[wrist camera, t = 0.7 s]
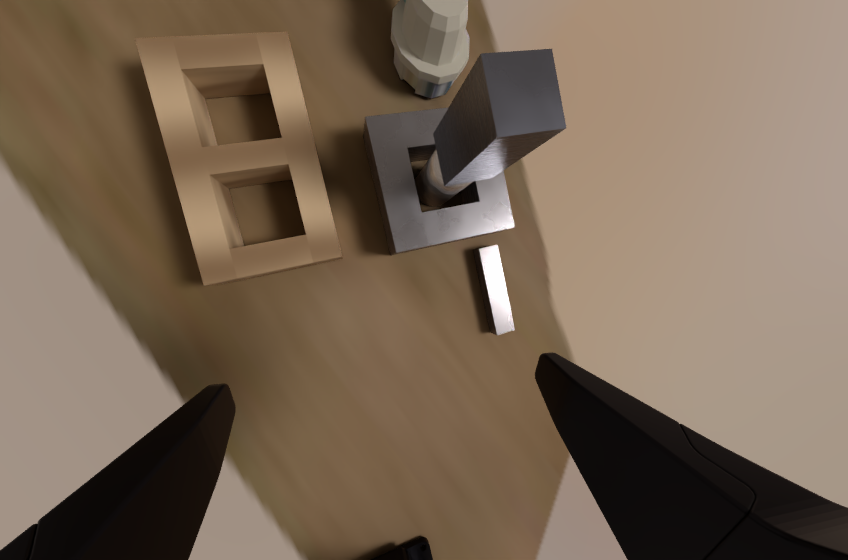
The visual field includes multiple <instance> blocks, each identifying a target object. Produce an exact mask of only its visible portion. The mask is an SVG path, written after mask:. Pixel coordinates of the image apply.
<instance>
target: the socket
mask: <svg viewBox="0 0 848 560" xmlns="http://www.w3.org/2000/svg"><path fill="white" fill-rule="evenodd" d="M447 110H448V108H441V109H432V110H423V111H413V112H404V113H395V114H386V115H377V116H368V117H365V124H364V134H363V138H364V143H365V147H366V151H367V156H368V160H369V164H370V169H371V173H372V177H373V182H374V186H375V190H376V194H377V199H378V203H379V207H380V212H381V216H382V220H383V225H384V229H385V233H386V238H387V242H388V246H389V251H390V255H395V254H399V253H404V252H409V251H413V250H418V249H422V248H427V247H432V246H436V245H441V244H445V243H450V242H455V241H459V240H464V239H468V238H473V237H478V236H482V235H487V234H491V233H496V232H499V231H503V230H507V229H510V228H514V222H513V217H512V212H511V207H510V202H509V197H508V192H507V186H506V181H505V176H504V171H502V172H500V173H499V174H497V175H496V176H494V177H493V178H491V179H486V180H480V181H474V182H472V183H471V184H469V185H468V186H467V187H465V188H464V189H463V190H461V196H462V200H463V205H459V206H454V207H449V208H444V209H438V210H433V211H428V212H422V213H421V208H420V204H419V199H418V195H417V190H416V186H415V181H414V176H413V172H412V167H411V163H410V162H413V161H420V160H427V159H430V157H431V156H432V154H433V153H434V151H435V150H436V146H435V141H434V136H433V133H434V131H435V130H436V128H437V126H438V125H439V123H440V121H441V120H442V118H443V116H444V115H445V113H446V111H447Z"/></svg>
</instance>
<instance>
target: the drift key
mask: <svg viewBox="0 0 848 560" xmlns="http://www.w3.org/2000/svg"><path fill="white" fill-rule="evenodd" d="M473 252H474V257H475V262H476V267H477V271H478V276H479V281H480V286H481V290H482V295H483V300H484V305H485V309H486V314H487V319H488V324H489V328H490V332H491V333H493V334H495V335H499V334H503V333H506V332H509V331H513V330H515V329H514V324H513V319H512V314H511V309H510V304H509V299H508V294H507V289H506V284H505V280H504V275H503V270H502V265H501V260H500V255H499V250H498V245H494V246H489V247H484V248H480V249H476V250H473Z"/></svg>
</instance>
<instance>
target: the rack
mask: <svg viewBox="0 0 848 560" xmlns="http://www.w3.org/2000/svg"><path fill="white" fill-rule="evenodd" d="M135 41H136V44H137V48H138V51H139V55H140V58H141V62H142V66H143V69H144V73H145V76H146V80H147V84H148V87H149V91H150V94H151V98H152V101H153V105H154V109H155V112H156V116H157V119H158V123H159V127H160V130H161V134H162V137H163V141H164V145H165V148H166V152H167V155H168V159H169V162H170V166H171V170H172V173H173V177H174V180H175V184H176V188H177V191H178V195H179V198H180V202H181V205H182V209H183V213H184V216H185V220H186V223H187V227H188V231H189V234H190V238H191V241H192V245H193V249H194V252H195V256H196V259H197V263H198V266H199V270H200V274H201V277H202V281H203V284H204V286H206V285H218V284H227V283H231V282H236V281H241V280H245V279H250V278H255V277H260V276H264V275H269V274H274V273H278V272H283V271H288V270H293V269H297V268H302V267H307V266H311V265H316V264H321V263H326V262H330V261H335V260H340V259H343V257H342V253H341V249H340V244H339V240H338V236H337V232H336V228H335V224H334V220H333V216H332V212H331V207H330V203H329V199H328V195H327V191H326V187H325V183H324V179H323V175H322V170H321V166H320V162H319V158H318V154H317V150H316V146H315V142H314V137H313V133H312V129H311V125H310V121H309V117H308V113H307V109H306V105H305V100H304V96H303V92H302V88H301V84H300V80H299V76H298V72H297V68H296V63H295V60H294V56H293V52H292V48H291V44H290V40H289V36H288V32H266V33H243V34H220V35H197V36H174V37H150V38H135ZM266 93H271V96H272V100H273V104H274V108H275V112H276V116H277V120H278V124H279V128H280V132H281V136H282V138H276V139H267V140H259V141H250V142H242V143H233V144H225V145H217V142H216V138H215V134H214V130H213V127H212V123H211V119H210V115H209V112H208V108H207V104H206V100H205V99H208V98H219V97H231V96H243V95H254V94H266ZM285 180H293V184H294V188H295V192H296V196H297V200H298V204H299V208H300V212H301V216H302V220H303V224H304V228H305V232H306V235H301V236H295V237H290V238H285V239H280V240H274V241H269V242H264V243H258V244H253V245H248V246H244V243H243V239H242V236H241V232H240V228H239V224H238V221H237V217H236V213H235V209H234V206H233V202H232V198H231V194H230V191H229V189H231V188H238V187H244V186H251V185H258V184H265V183H271V182H278V181H285Z"/></svg>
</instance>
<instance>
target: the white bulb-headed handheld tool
mask: <svg viewBox="0 0 848 560" xmlns="http://www.w3.org/2000/svg"><path fill="white" fill-rule="evenodd" d="M467 19H468V0H400V1H399V2H398V3H397V5H396V6H395V7H394V8H393V13H392V27H391V41H392V43H393V46H394V48H395V50H394V65H395V67H396V69H397V72H398V74H399V76H400V79H401V80H403V79H404V80H405V81H407V82H408V83H409V84H410V85H411V86H412V87H413V88H414V89H415V93H416V94H419V95H422V96H425V97H428V98H434V97H438V96H441V95H445V94H446V92H447V91H448V90H449V88H450V87H451V85H452V84H453V82H454V80H456V79H457V77H458V76H459V74H460V73H461V71H462V70H463V69H464V67H465V66H466V64H467V61H468V59H469V35H468V33H467V30H466V28H465V27H466V23H467Z"/></svg>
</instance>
